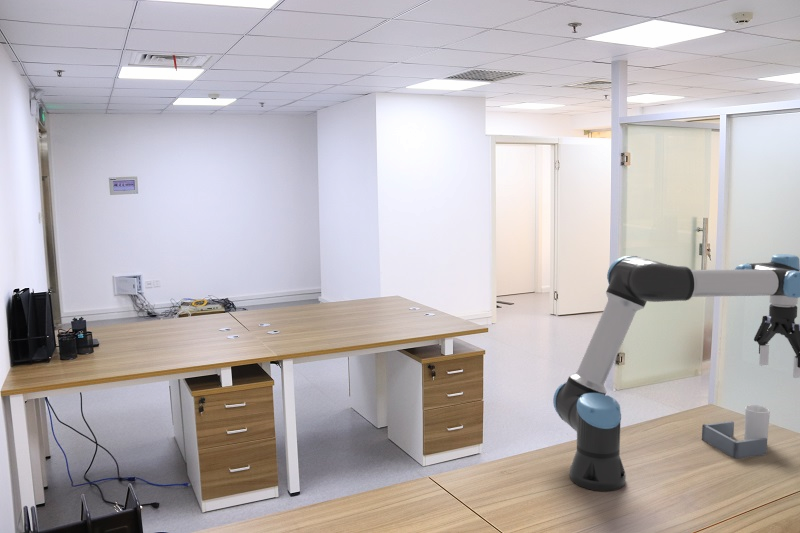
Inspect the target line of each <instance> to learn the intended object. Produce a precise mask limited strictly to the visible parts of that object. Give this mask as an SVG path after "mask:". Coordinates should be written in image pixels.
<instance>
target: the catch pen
mask: <svg viewBox="0 0 800 533" xmlns="http://www.w3.org/2000/svg"><path fill="white" fill-rule="evenodd" d="M701 429H702V430H701V440H702V441H704V442H705V443H707V444H709V445H710V446H712V447H714V448H716V449H717V450H719V451H721V452H723V453H725V454H726V455H728V456H729V457H732V459H736V460H737V459H743V458H750V457H751V458H752V457H758V456H765V455H767V451H768V450H767V449H768V448H767V447H768V440H767V438H757V439H750V440H744V439H743V440H735V439H733V437H734V436H735V435H734V434H735V433H734V432H735V422H734V421H733V420H729V421H722V422H712V423H704V424H702V428H701Z"/></svg>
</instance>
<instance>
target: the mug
mask: <svg viewBox="0 0 800 533" xmlns="http://www.w3.org/2000/svg"><path fill="white" fill-rule="evenodd" d="M744 408H745V409H744V434H743V436H744V439H743V440H750V439H757V438H767V441H768V439H769V427H770V426H769V425H770V416H771V415H770V412H771V411H770V409H769V408H768V407H765V406H763V405H758V404H757V405H756V404H749V405H746V406H745V407H744Z"/></svg>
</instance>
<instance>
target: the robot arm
mask: <svg viewBox="0 0 800 533" xmlns="http://www.w3.org/2000/svg"><path fill="white" fill-rule="evenodd" d="M606 275H607V276H606V278H607V282H608V287H607V289H606V291H605V294H606V297H607V302H606V304H605V306H604V310H603V311H602V314H601V316H600V317H599V318H600V319H599V321H598V323H597V325H596V328H595V330H594V332H593V334H592V335H591V336H592V337H591V339H590V341H589V344H588V346H587V348H586V350H585V353H584V354H583V357H582V359H581V361H580V364H579V366H578V369H577V370H576V372H575V373H572V374H570V375H569V376H568V378H567V380H566V381H565V382H564V383H563V384H560V385H559V386H558V387H557V388H556V389H555V391H554V395H553V400H552V401H553V407H554V410H555V412H556V413H557V414H558V417H559V418H560V419H561V420H562V421H564V422H565V423H566V424H567V425H569V426H570V427H571V429H572V430H574V431H575V432H576V452H575V454H574V457H573V460H572V463H571V465H570V468H569V478H570V480H571V481H572V482H573V483H574V482H575V483H576V484H575V483H574V484H575V485H577V486H579V487H580V488H583V489H588V490H591V491H596V492H597V491H599V492H611V491H617V490H619V489H621V488H623V487H624V486H625V484H626V471H625V468H624V465H623V462H622V458H621V456H620V452H621V451H620V449H621V444H620V443H621V422H622V413H621V412H622V411H621V405H620V404H619V402H618V401H617V400H616V399H615V398H613V397H612V396H610V395H606V394H607V389H606V387H605V384H606V382H607V379H608V377H609V374H610V372H611V370H612V367H613V365H614V363H615V360H616V358H617V356H618V354H619V351H620V349H621V347H622V345H623V342H624V340H625V338H626V336H627V333H628V332H629V330H630V326H631V324H632V322H633V320H634V318H635V315H636V313H637V312H638V311H640V310H642V309H644V308H645V307H646V304H647V302H650V303H651V302H653V303H659V302H662V303H663V302H664V303H665V302H678V301H680V302H681V301H683V302H684V301H685V302H686V301H689V300H691V299H692V298H693V297H694V298H697V297H698V298H701V297H702V298H705V297H750V296H751V297H756V296H758V297H759V296H763V297H764V296H769V303H770V305H769V309H768V310H769V311H768V315H763V316H762V318H761V319H762V320H761V323H760V325H759V327H758V330H757V331H756V333H755V335H754V338H753V341H754V342H756V343H757V344H758V354H759V362H758V363H759V364H758V365H759V366H769V353H770V345H769V342H770V341H771V339H772V338H774V337H775V335H776V334H779V335H781V336H784V337H785V338H786V339H787V340H788V342H789V344H790V346H791V348H792V350H793V352H794V353H795V355H794V356H793V373H792V376H793V377H792V378H795V379H799V378H800V323H796V320H795V319H796V318H798V306H797V305H798V302H799V298H800V258H799V256H797V255H795V254H783V253H781V254H779V253H778V254H773V255H772V256H771V260H770V262H759V263H749V262H747V263H743V264H742V263H741V264H739V265H736V267H735V268H734V269H691V268H690V267H688V266H686V265H683V266H681V265H680V266H678V265H671V264H667V263H663V262H660V261H656V260H652V259H647V258H644V257H641V256H637V255H625V256H621V257H620V258H617V259H616V260H614V261H613V262H612V263H611V264H610V266H609V267H608V269H607V274H606Z"/></svg>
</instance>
